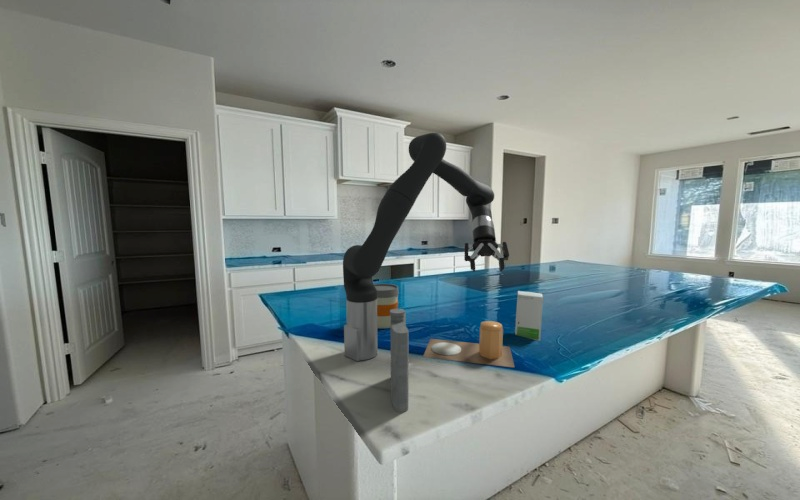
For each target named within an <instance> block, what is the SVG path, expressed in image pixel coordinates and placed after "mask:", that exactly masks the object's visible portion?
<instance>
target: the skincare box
mask: <svg viewBox="0 0 800 500" xmlns="http://www.w3.org/2000/svg"><path fill="white" fill-rule="evenodd" d="M516 296H517V299H516V309H515V311H516V312H515V325H514V326H515V328H514V333H515V334H514V335H515V336H519V337H522V338H526V339H530V340H534V341H539V342H541V332H542V321H543V319H542V318H543V304H544V295H543V294H542V292H541V293H540V292H534V291H533V292H531V291H522V290H517V295H516Z"/></svg>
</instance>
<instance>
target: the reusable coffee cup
mask: <svg viewBox="0 0 800 500" xmlns="http://www.w3.org/2000/svg"><path fill="white" fill-rule="evenodd" d="M373 284H374V283H373ZM374 286H375V288H376V290H377V329H391V315H390V310H391V309H399V308H398V307H399V300H398V298H399V294H400V292H399V291H400V290H399V286H398V285H397V284H392V283H377V284H376V283H375V284H374Z"/></svg>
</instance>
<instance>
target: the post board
mask: <svg viewBox="0 0 800 500" xmlns="http://www.w3.org/2000/svg"><path fill="white" fill-rule="evenodd" d="M422 358H428V359H435V360H436V359H437V360H445V361H452V362H453V361H454V362H463V363H471V364H480V365H488V366H497V367H504V368H515V362H514V359H513V355H512V350H511V347H510V346H508V345H507V346H506V345H502V356H501V357H500V358H498V359H489V358H486V357H483V356H481V354H480V353H479V343H477V342H476V343H475V342H465V341H458V340H457V341H456V340H447V339H446V340H445V339H437V338H429V341H428V343H427V346H426V347H425V351H424V353H423V356H422Z"/></svg>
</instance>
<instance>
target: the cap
mask: <svg viewBox="0 0 800 500" xmlns="http://www.w3.org/2000/svg"><path fill="white" fill-rule="evenodd" d="M503 337H504V328H503V324H502V323H500V322H498V321H493V320H485V321H481V322H480V326H479V341H478V342H479V343H478V344H479V353H480V354H481V356H483V357H486V358H489V359H498V358H500V357H501V356H502V346H504V345H503V343H504V342H503Z"/></svg>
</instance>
